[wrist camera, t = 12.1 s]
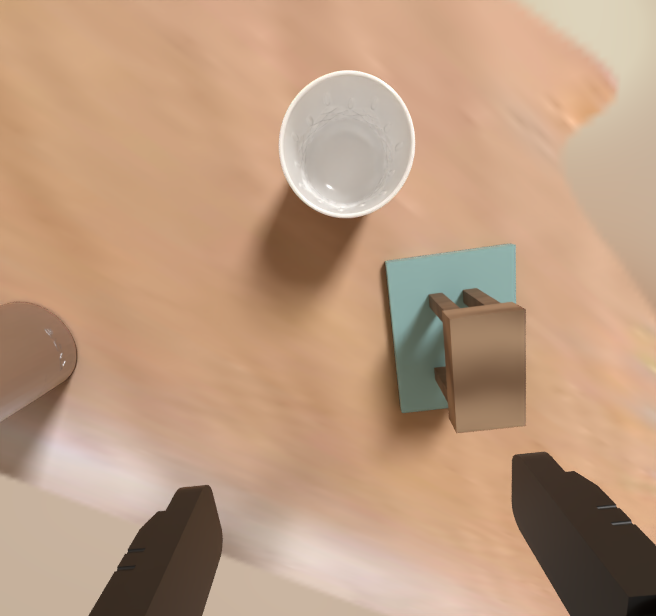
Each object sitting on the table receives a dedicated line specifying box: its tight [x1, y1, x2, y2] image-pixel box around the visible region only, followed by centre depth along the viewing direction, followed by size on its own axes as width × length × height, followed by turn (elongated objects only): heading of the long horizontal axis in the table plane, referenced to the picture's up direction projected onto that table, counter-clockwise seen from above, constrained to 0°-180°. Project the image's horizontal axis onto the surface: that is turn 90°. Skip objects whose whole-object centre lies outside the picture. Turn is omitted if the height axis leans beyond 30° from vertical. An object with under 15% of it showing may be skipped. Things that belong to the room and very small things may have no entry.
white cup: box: [279, 71, 415, 218], centre depth 26 cm, size 8×8×10 cm
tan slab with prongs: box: [429, 288, 526, 433], centre depth 29 cm, size 9×5×8 cm, turn 9°
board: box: [385, 244, 516, 413], centre depth 34 cm, size 11×15×1 cm
